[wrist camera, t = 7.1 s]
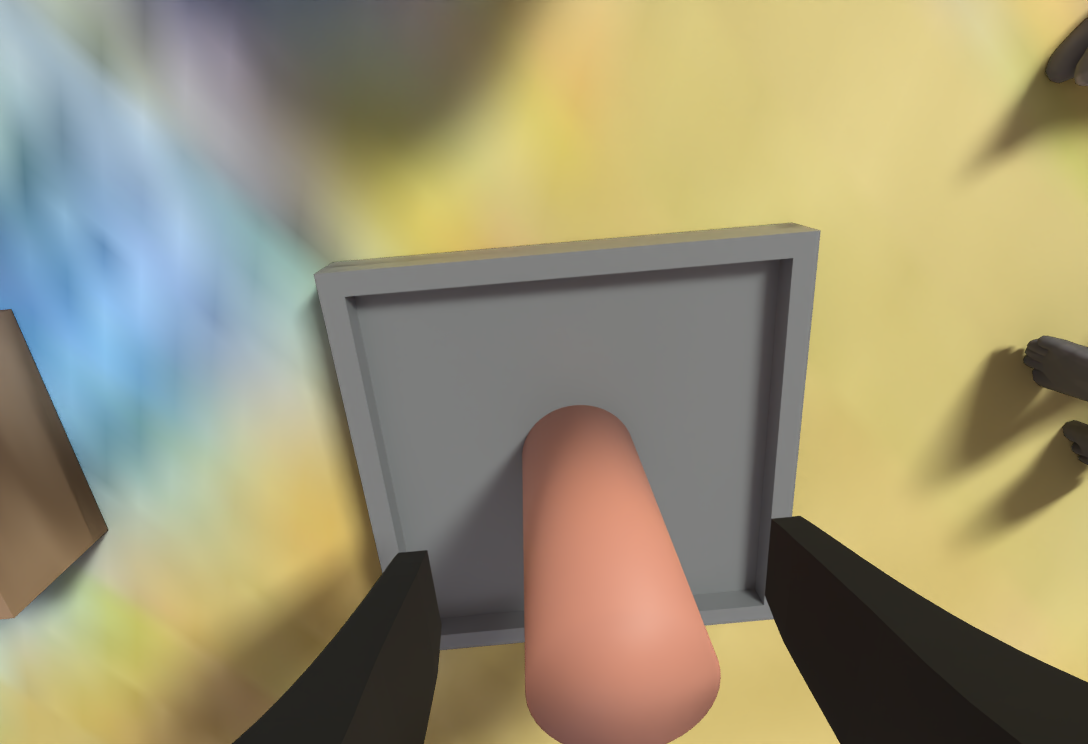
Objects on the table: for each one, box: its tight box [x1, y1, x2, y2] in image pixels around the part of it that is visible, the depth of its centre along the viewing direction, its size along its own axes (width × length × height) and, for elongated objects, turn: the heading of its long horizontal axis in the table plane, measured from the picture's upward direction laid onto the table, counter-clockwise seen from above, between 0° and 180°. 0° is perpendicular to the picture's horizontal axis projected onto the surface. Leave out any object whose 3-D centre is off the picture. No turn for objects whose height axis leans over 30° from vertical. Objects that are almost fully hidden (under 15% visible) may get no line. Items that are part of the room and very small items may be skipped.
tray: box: [314, 223, 820, 650], centre depth 16 cm, size 12×12×2 cm
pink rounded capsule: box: [522, 405, 721, 744], centre depth 13 cm, size 3×3×8 cm
